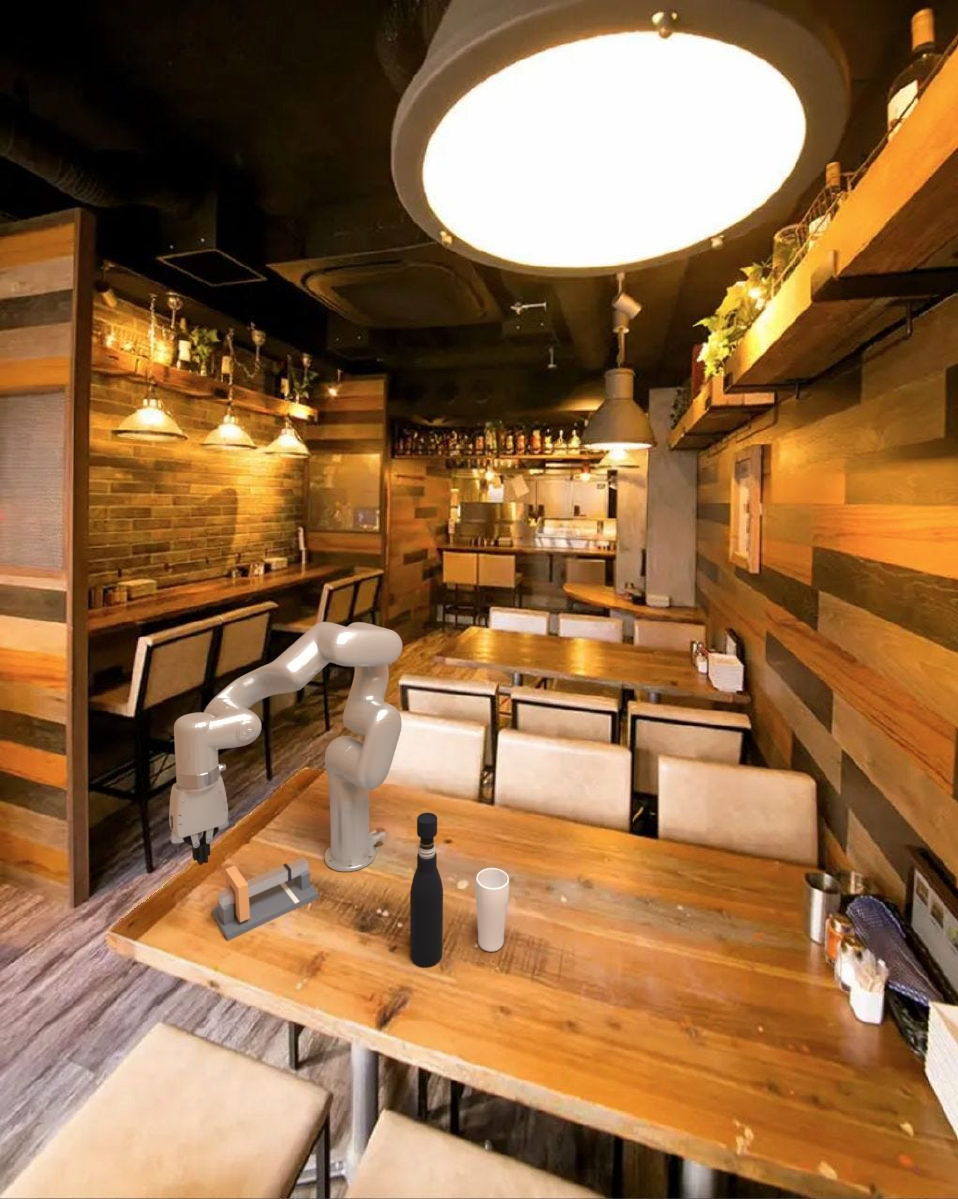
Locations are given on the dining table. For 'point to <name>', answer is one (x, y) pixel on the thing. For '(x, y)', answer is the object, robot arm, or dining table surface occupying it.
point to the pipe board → (267, 906)
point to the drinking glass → (491, 907)
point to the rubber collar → (238, 893)
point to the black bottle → (426, 898)
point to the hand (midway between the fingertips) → (201, 860)
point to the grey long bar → (266, 881)
